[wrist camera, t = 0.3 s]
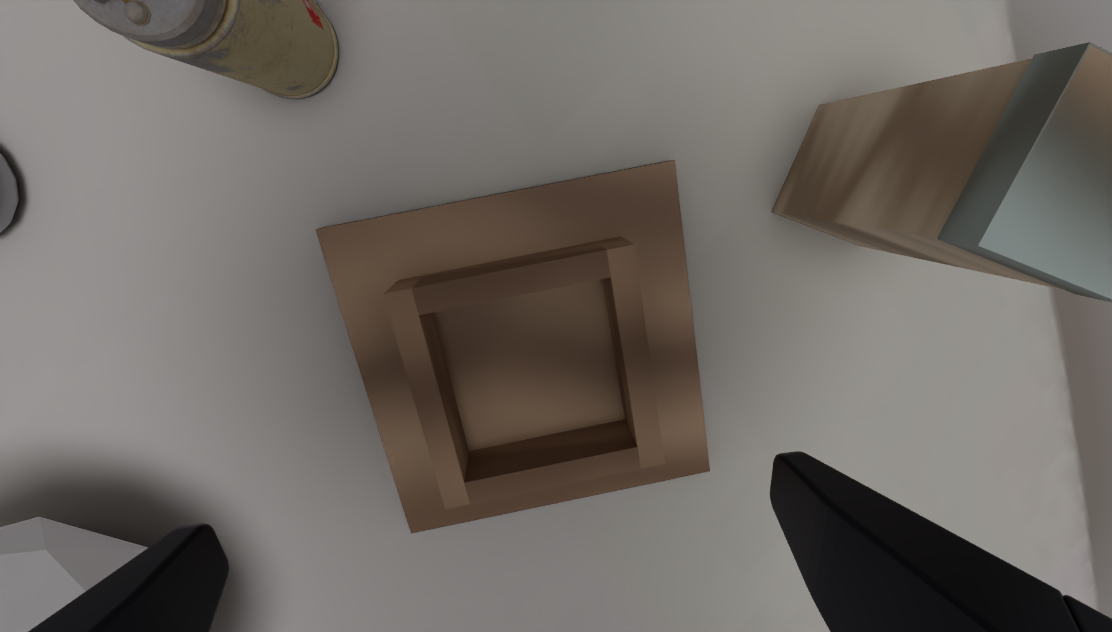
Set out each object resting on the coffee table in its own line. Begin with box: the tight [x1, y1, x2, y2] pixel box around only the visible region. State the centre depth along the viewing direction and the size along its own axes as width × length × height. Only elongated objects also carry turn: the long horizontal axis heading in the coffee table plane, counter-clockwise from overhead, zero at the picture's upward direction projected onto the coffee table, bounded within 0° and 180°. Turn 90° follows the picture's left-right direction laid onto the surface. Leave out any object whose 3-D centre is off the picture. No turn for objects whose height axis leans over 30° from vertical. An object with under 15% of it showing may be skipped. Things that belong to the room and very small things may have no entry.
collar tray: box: [316, 160, 710, 533], centre depth 21 cm, size 14×14×3 cm
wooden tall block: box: [772, 42, 1112, 302], centre depth 16 cm, size 4×4×10 cm
